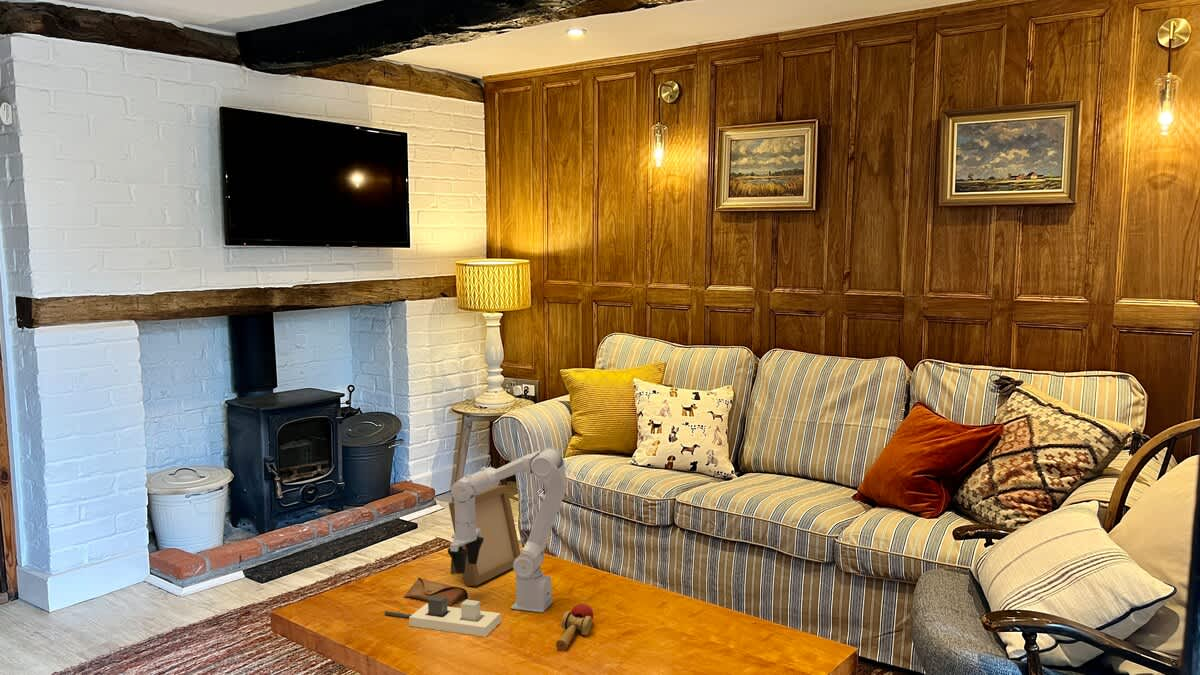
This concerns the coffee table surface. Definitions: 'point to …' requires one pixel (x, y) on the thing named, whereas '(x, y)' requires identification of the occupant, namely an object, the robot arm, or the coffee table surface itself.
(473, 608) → the beige plug
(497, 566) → the photo frame
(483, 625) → the power strip
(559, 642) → the kendama
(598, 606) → the coffee table surface
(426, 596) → the sunglasses case
